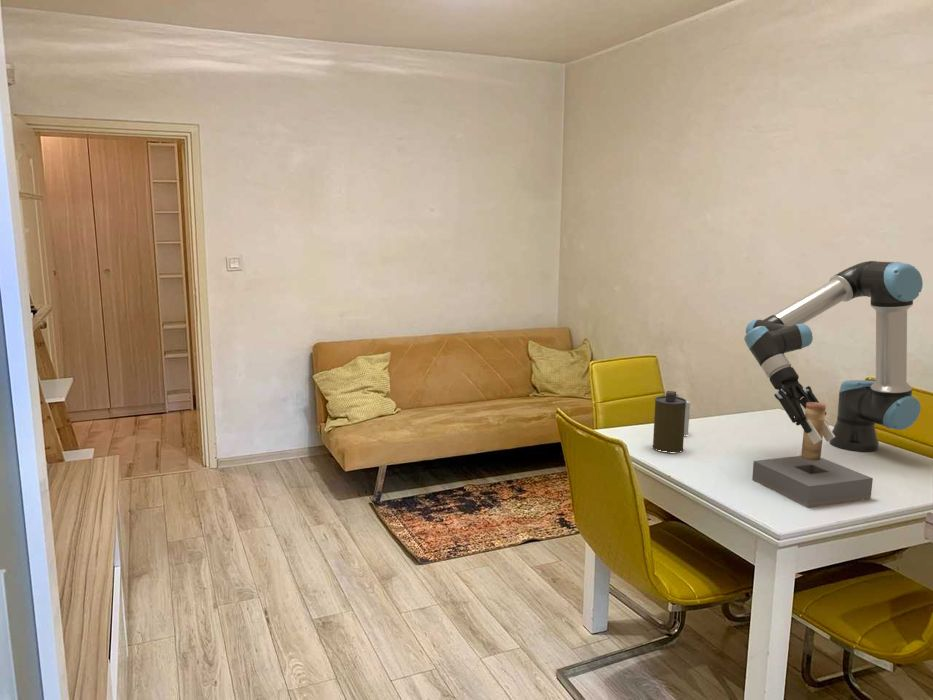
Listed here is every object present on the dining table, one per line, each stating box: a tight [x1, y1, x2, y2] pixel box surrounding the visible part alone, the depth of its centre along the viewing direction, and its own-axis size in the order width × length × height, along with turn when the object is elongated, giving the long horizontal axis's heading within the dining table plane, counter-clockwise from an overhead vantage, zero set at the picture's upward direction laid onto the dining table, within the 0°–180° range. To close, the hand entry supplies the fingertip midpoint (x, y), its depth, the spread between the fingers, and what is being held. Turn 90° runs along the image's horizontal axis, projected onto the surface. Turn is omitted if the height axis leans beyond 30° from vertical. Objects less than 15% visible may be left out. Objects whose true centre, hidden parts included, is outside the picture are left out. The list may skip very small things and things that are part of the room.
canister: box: [651, 390, 688, 453], centre depth 241 cm, size 11×10×20 cm
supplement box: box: [684, 399, 691, 436], centre depth 260 cm, size 7×7×13 cm
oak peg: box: [800, 402, 827, 461], centre depth 203 cm, size 5×5×16 cm
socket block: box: [751, 455, 874, 508], centre depth 206 cm, size 22×22×6 cm
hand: (824, 440), depth 200 cm, fingers closed on oak peg, 5 cm apart
